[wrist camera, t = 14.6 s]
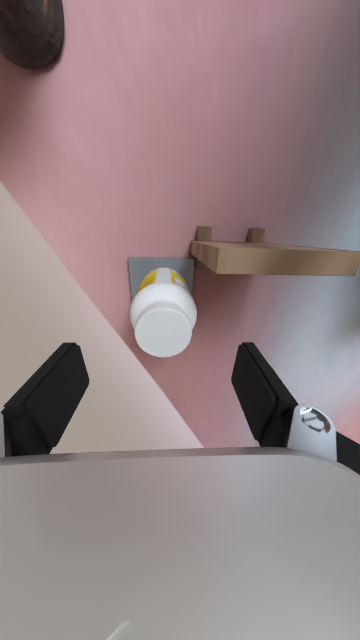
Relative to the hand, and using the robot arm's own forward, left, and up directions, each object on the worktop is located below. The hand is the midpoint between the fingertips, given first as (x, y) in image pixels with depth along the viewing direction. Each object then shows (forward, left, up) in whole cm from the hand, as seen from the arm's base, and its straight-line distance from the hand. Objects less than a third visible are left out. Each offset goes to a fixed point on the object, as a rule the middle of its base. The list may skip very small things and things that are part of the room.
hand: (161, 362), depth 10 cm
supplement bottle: (0, 0, -17) cm, 17 cm away
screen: (-9, -5, -17) cm, 20 cm away
